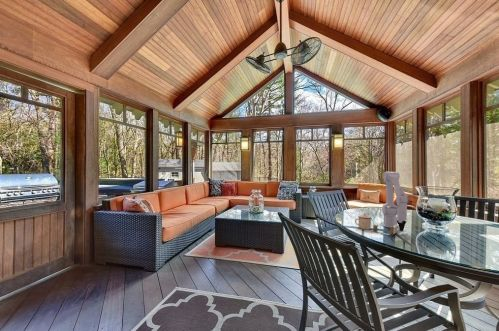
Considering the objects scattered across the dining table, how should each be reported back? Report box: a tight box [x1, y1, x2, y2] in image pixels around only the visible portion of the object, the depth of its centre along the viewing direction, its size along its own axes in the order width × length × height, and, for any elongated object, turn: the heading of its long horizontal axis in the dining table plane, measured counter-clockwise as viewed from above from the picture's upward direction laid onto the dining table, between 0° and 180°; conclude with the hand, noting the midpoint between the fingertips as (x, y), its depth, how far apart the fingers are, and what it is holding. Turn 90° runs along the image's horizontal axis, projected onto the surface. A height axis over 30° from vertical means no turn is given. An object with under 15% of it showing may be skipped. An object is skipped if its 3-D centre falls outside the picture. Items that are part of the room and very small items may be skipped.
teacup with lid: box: [354, 212, 372, 230], centre depth 186 cm, size 12×9×12 cm
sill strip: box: [376, 230, 390, 236], centre depth 174 cm, size 2×11×1 cm, turn 26°
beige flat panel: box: [393, 224, 399, 235], centre depth 172 cm, size 12×1×5 cm, turn 136°
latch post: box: [372, 224, 379, 233], centre depth 177 cm, size 2×2×5 cm, turn 26°
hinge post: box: [389, 226, 394, 237], centre depth 167 cm, size 2×2×7 cm
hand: (401, 230), depth 171 cm, fingers closed
